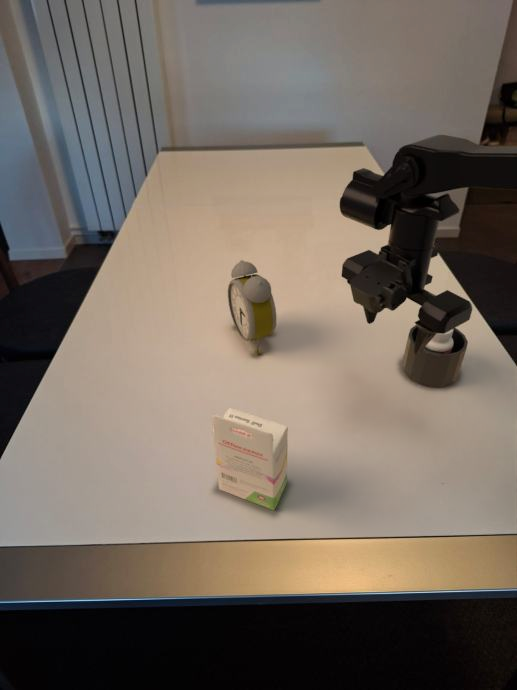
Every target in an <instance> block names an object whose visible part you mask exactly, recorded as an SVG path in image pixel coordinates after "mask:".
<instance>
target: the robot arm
mask: <svg viewBox="0 0 517 690" xmlns="http://www.w3.org/2000/svg"><path fill="white" fill-rule="evenodd" d="M465 188H473V189H489V190H490V189H491V190H505V191H506V190H507V191H517V145H489V146H488V145H483V144H478V143H476V142H473V141H471V140H469V139H467V138H463V137H458V136H452V135H446V134H437V135H433V136H430V137H426V138H424V139H421V140H417V141H415V142H411V143H409V144H406V145H403V146H401V147H400V148H399V149H398V151H397V152H396V153H395V154H394V157H393V160H392V163H391V167H389V169H388V170H387V171H386V172H385V173H384V174H383V175H382V174H378V173H376V172H373V171H372V170H370V169H368V168H365V167H362V168H359V169H357V170H354V171H353V172H352V179H351V180H350V181H349V182H348V184H347V185H346V187H344V190H343V192H342V195H341V197H340V199H339V211H340V214H341V215H342V216H343V217H344V218H346V219H349V220H352V221H354V222H356V223H359V224H362V225H363V226H366V227H369V228H371V229H373V230H376V231H381V230H384V229H386V228H387V227H388V226H389V227H390V228H389V234H388V241H387V244H386V245H382V246H381V247H380V249H379V251H378V253H376V252H375V251H372V250H371V249H367V250H365V251H362V252H359V253H357V254H354V255H352V256H350V257H347V258H346V259H345V260H344V262H343V263H342V267H341V277H342V278H343V279H345V280H346V283H347V284H348V285H349V287H350V291H351V295H352V300H353V302H354V303H355V304H357V305H360V306H362V307H363V311H364V315H365V320H366V323H367V324H369V325H371V324H373V323H374V322H375V321H376V319H377V315H378V314H379V313H381V312H382V311H384V310H385V309H388V310H389V311H392V312H393V311H395V310H397V309H398V308H399V307H400V306H401V305H402V304H404V303H405V302H406V301H407V299H408V300H410V301H411V302H414V303H416V304H417V305H419V306H420V308H419V309H418V313H417V317H418V320H416V321H414V324H415V325H417V326H418V327H419V329H418V334H417V338H416V342H415V346H414V353H415V354H418V353H420V352H421V351H422V350H423V349H424V348H425V346H426V345H427V344H428V343H429V342H430V341H431V339H432V338H433V337H434V336H435V335H436V334H437V333H441V334H444V333H446V332H448V331H450V330H452V329H454V328H457V327H459V326H461V325H463V324H464V323H466V322H468V321H470V319H471V315H472V312H473V305H472V303H471V302H470V301H469V300H468V299H466V298H464V297H462V296H460V295H458V294H456V293H454V292H452V291H451V290H449V289H447V290H444V291H443V292H441V293H439V294H434V293H432V292H430V291H428V290H427V289H425V287H426V286H427V285H429V284H431V283H432V282H433V275H432V274H429V269H430V265H431V260H432V259H433V258H435V257H438V256H439V251H440V247H437V246H435V241H436V237H437V233H438V228H439V225H440V222H444V221H446V220H447V219H450V218H452V217H453V216H456V215H458V214H459V213H460V208H459V207H458V204H457V203H455V202H454V201H453V200H452V198H451V196H450V194H449V193H445V192H449V191H454V190H458V189H465ZM439 193H444V194H442V195H440V196H434V195H433V194H439Z"/></svg>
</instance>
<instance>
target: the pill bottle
mask: <svg viewBox="0 0 517 690" xmlns="http://www.w3.org/2000/svg"><path fill="white" fill-rule="evenodd" d="M452 334H453V329H452V330H450V331H448V332H446V333H444V334H441V333H437V334H436V335H435V336H434V337H433V338H432V339H431V341H430V342H429V343H428V344H427V345H426V346H425V348H424V349H425V350H427V351H429V352H433V353H437V354H451V351H452V348H453V339H452Z"/></svg>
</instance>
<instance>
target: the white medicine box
mask: <svg viewBox="0 0 517 690" xmlns="http://www.w3.org/2000/svg"><path fill="white" fill-rule="evenodd" d="M212 428H213V431H212V438H213V445H214V454H215V463H216V465H215V466H216V472H217V482H218V483H217V485H218V489H219V490H221V492H222V491H223V492H226V493H228V494H230V495H232V496H235V497H238V498H241V499H243V500H246V501H249V502H251V503H253V504H256V505H259V506H261V507H263V508H266V509H269V510H270V511H275V510H276V509H277V506H278V504H279V502H280V499H281V497H282V495H283V494H284V491H285V488H286V487H287V483H288V431H289V430H288V425H285V424H282V423H279V422H275V421H272V420H269V419H266V418H264V417H260V416H257V415H253V414H250V413H247V412H244V411H242V410H239V409H235V408H233V407H229V408H228V409H227V411H226V412H225V414H224V415H223V416H220V415H216V414H213V415H212Z"/></svg>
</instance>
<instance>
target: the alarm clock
mask: <svg viewBox="0 0 517 690" xmlns="http://www.w3.org/2000/svg"><path fill="white" fill-rule="evenodd" d="M257 273H259V272H258V269H257V267H256V266H255V265H254V264H253V263H252V262H250V261H244V260H243V259H241V260H240V261H239V262H238V263H236V264H235V265H234V266H233V268H232V269H231V273H230V275H231V276H230V277H231V280H230V281H229V282H228V287H227V300H228V307H229V312H230V316H231V320H232V322H233V324H234V327H235V329H236V331H237V333H238V335H239V336H240V337H241V338H242V340H244V341H247V342H251V345H252V349H253V352H254V355H259V354H260V342H261V340H260V339H262V338H265V337H268V336H270V335H273V333H274V332H275V330H276V327H277V309H276V304H275V300H274V297H273V296H274V295H273V293H272V286H271V284H270V282H269V281H268V279H266V278H265V277H263V276H262V275H260V274H257Z"/></svg>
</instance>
